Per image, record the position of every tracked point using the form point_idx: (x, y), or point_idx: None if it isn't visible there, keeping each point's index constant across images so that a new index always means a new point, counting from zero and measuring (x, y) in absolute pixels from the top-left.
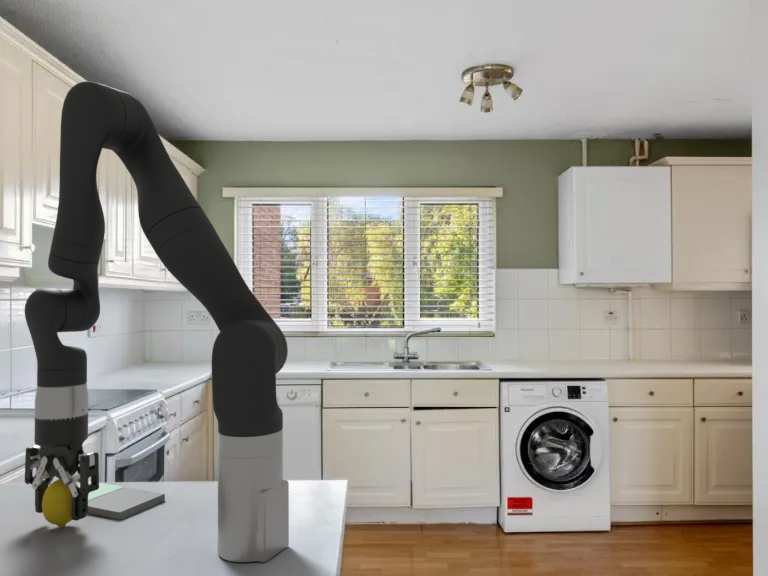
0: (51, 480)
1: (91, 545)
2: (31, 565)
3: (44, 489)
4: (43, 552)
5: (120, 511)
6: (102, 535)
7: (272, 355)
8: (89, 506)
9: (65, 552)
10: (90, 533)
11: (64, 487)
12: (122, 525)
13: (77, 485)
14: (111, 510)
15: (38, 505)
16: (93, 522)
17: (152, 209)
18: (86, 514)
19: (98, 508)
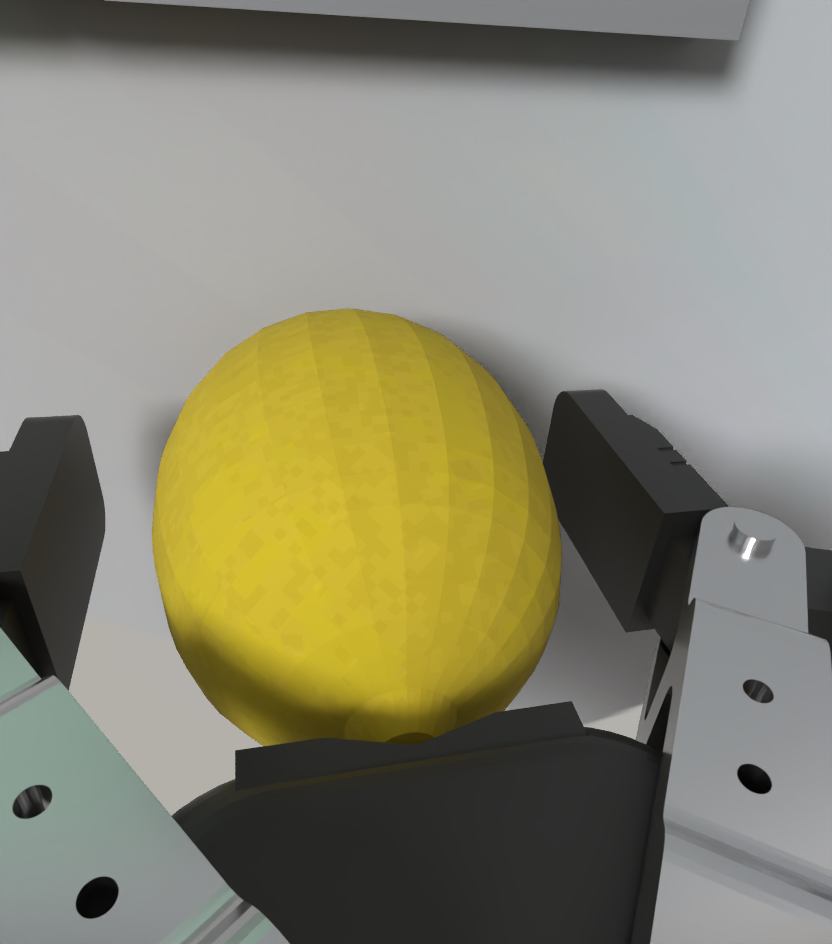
0: (17, 651)
1: (751, 477)
2: (607, 695)
3: (44, 636)
4: None
5: (736, 14)
6: (735, 356)
7: None
8: (240, 5)
9: None
10: (630, 367)
11: (516, 695)
12: (789, 144)
13: (513, 516)
14: (616, 26)
15: (94, 571)
16: (491, 193)
17: None
18: (603, 393)
19: (409, 19)
